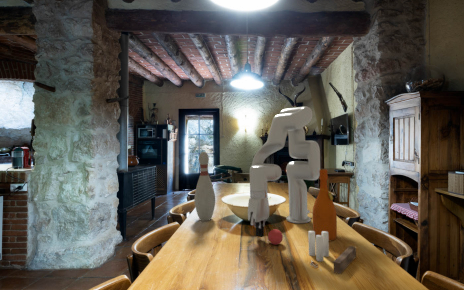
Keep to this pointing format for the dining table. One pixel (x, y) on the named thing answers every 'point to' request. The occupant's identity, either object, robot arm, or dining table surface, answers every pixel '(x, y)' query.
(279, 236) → the ball
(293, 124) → the robot arm
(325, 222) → the wine bottle
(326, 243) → the pin
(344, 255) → the brown wooden block
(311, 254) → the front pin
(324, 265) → the dining table surface
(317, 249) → the pin
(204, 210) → the bowling pin
